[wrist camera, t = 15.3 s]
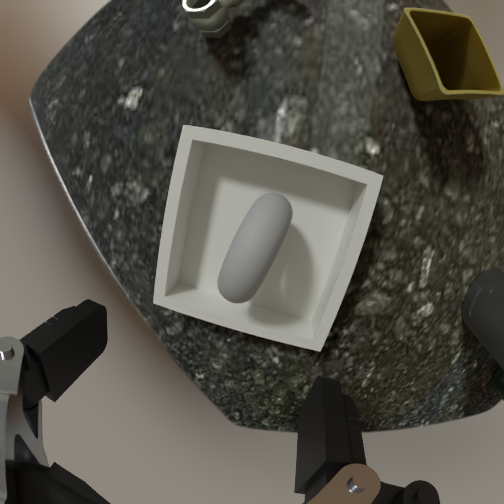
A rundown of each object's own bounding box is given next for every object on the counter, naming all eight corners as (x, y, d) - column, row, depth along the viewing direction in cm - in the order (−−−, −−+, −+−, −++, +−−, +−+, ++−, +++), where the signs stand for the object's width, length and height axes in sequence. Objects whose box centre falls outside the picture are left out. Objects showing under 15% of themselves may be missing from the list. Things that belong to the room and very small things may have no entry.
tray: (368, 175, 26) (383, 175, 22) (317, 327, 32) (320, 351, 27) (200, 131, 27) (183, 124, 23) (171, 285, 33) (153, 303, 28)
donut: (266, 183, 27) (253, 188, 18) (298, 198, 27) (303, 212, 18) (227, 269, 30) (198, 313, 21) (256, 283, 30) (239, 333, 21)
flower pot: (436, 43, 20) (471, 15, 12) (462, 108, 22) (507, 95, 13) (376, 44, 22) (402, 6, 13) (403, 113, 24) (442, 94, 15)
